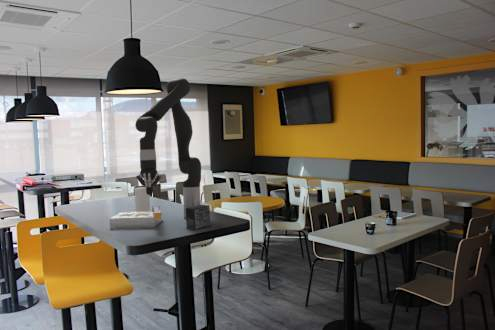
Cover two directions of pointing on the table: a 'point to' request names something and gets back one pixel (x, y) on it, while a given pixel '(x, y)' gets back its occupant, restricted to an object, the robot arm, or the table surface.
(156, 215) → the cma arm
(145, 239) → the table surface
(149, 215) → the chassis
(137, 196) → the cup
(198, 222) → the small box
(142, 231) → the table surface
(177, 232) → the table surface
